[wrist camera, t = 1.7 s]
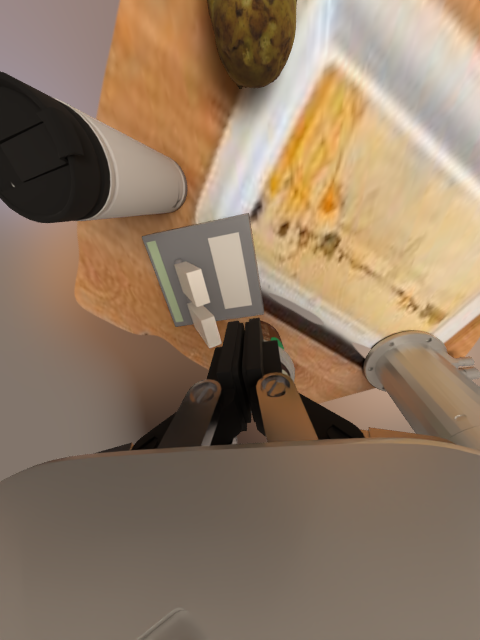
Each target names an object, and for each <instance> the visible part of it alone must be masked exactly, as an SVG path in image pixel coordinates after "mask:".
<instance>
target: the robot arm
mask: <svg viewBox="0 0 480 640" xmlns="http://www.w3.org/2000/svg"><path fill="white" fill-rule="evenodd" d="M470 365H474V360H473V359H472V357H460V358H454V357H451V356H450V355H449V354H448V353H447V349H446V347H445V345H444V343H442V342H441V341H440V340H439V339H438V338H436V337H435V336H434V335H431V334H429V333H426V332H422V331H407V332H401V333H397V334H394V335H392V336H389V337H387V338H385V339H384V340H382V341H380V342H379V343H378V344H377V345H375V346H374V347H373V348H372V349H371V350H370V352H369V353H368V355H367V356H366V358H365V361H364V366H363V369H364V374H365V376H366V378H367V379H368V381H369V382H370V383H371V384H372V385H373V386H374V387H376V388H377V389H380V390H382V391H387V392H388V394H389V395H390V397H391V398H392V399H393V401H394V403H395V404H396V405H397V407H398V408H399V410H400V411H401V413H402V414H403V416H404V417H405V419H406V420H407V421H408V423H409V424H410V426H411V427H412V429H413V430H414V432H415V433H416V434H415V433H406V432H399V431H392V430H384V429H376V428H370V427H369V430H368V431H366V430H360V429H359V428H358V427H356V426H355V425H354V424H352V423H351V422H349V421H347V420H346V419H344V418H342V417H340V416H339V415H337V414H335V413H333V412H331V411H330V410H328V409H326V408H325V407H323V406H321V405H319V404H317V403H316V402H314V401H312V400H310V399H309V398H307V397H305V396H303V395H302V394H300V393H298V391H297V388H296V386H295V384H294V382H293V380H292V379H291V378H290V377H289V376H288V375H286V374H283V373H282V367H281V361H280V354H279V348H278V341H277V340H272V341H264V339H263V334H262V328H261V322H260V318H254V319H249V322H246V324H245V329H244V325H243V323H239V321H233V322H228V325H227V329H226V333H225V338H224V342H223V346H222V347H217V348H215V351H214V355H213V358H212V362H211V366H210V369H209V373H208V376H207V380H203V381H200V382H198V383H196V384H194V385H193V386H192V387H191V388H190V389H189V391H188V392H187V394H186V396H185V398H184V399H183V401H182V403H181V405H180V407H179V409H178V411H177V412H176V413H174V414H173V415H172V416H170V417H169V418H167V419H166V420H165V421H163V422H162V423H161V424H159V425H158V426H157V427H155V428H154V429H152V430H151V431H150V432H148V433H147V434H146V435H144V436H143V437H142V438H140V439H139V440H138V441H137V442H136V443H135V445H133V443H128V444H125V445H121V446H118V447H114V448H111V449H107V450H104V451H101V452H97V453H93V454H85V455H77V456H69V457H65V458H60V459H55V460H51V461H47V462H44V463H41V464H37V465H35V466H32V467H30V468H27V469H25V470H23V471H20V472H18V473H16V474H14V475H12V476H10V477H8V478H6V479H4V480H2V481H1V482H0V640H480V387H479V386H478V385H477V384H476V383H474V382H473V381H472V380H471V379H478V378H479V377H480V372H479V371H478V369H476V368H475V367H464V368H458V367H459V366H470ZM251 411H252V415H253V419H254V422H256V426H257V429H258V430H259V431H260V432H261V433H262V434H263V435H264V436H266V439H267V442H266V443H248V444H237V435H238V434H239V433H240V432H241V431H247V423H250V422H251Z"/></svg>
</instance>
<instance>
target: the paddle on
mask: <svg viewBox="0 0 480 640" xmlns="http://www.w3.org/2000/svg"><path fill="white" fill-rule="evenodd" d="M174 266H175V269H176V272H177V275H178V278H179V281H180V284H181V287H182V290H183V293H184V294H185V295H186V296H187V297H188V298H189V299H190V300H191V302H192V303H193V304H194V305H195V306H196V307H199V306H202V305H205V304H207V303H210V299H209V296H208V292H207V288H206V285H205V281H204V278H203V274H202V270H201V269H200V268H198V267H196V266H194V265H192V264H190V263H188V262H186V261H185V262H182V260H181V259H177V260H175V265H174Z"/></svg>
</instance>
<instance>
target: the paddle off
mask: <svg viewBox="0 0 480 640" xmlns="http://www.w3.org/2000/svg"><path fill="white" fill-rule="evenodd" d="M187 300H188V304H187V305H188V308H189V311H190V314H191V317H192V320H193V323H194V327H195V328H196V330H197V331H198V333H199V334H200V336H201V337H202V338H203V340H204V341H205V343H206V344H207V346H208V347H209V348H212V347H215V346H217V345H219V344H222V343H221V339H220V335H219V332H218V328H217V325H216V321H215V317H214V315H213V314H212V313H211V312H210V311H209V310H207V309H206V308H205V307H204V306H203V305H202V306H199V307H196V306H195V305H194V304H193V303H192V302H191V300H190V299H189V298H187Z"/></svg>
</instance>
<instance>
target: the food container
mask: <svg viewBox="0 0 480 640" xmlns="http://www.w3.org/2000/svg"><path fill="white" fill-rule="evenodd" d="M260 322H261V328H262V334H263V339H264V341H272V340H277V341H278V348H279V354H280V361H281V367H282V373H283V374H286V375H288V376H289V377H290V378H291V379H292V380H293V382H294V378H295V368H294V364H293V362H292V360H291V358H290V357H289V355H288V354H287V353H286V352H285V351H284V348H283V345H282V342H281V338H280V336H279V334H278V332H277V331H276V329H275V328H274V327H272V326H271V325H270V324H268V323H266V322H263V321H260ZM251 413H252V411H251Z"/></svg>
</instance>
